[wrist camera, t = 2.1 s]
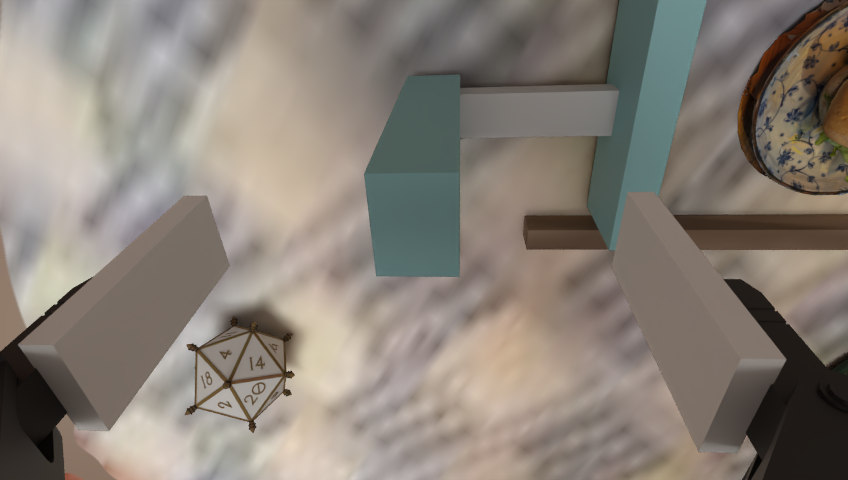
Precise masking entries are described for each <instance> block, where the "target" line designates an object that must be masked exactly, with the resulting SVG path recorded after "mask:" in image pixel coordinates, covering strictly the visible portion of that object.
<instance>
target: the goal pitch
mask: <svg viewBox="0 0 848 480" xmlns="http://www.w3.org/2000/svg"><path fill="white" fill-rule="evenodd" d="M673 216H674V218H675V219H676V220H677V221H678V223H679V224H680V225H681V226H682V228H683V229H684V230H685V232H686V233H687V234H688V235H689V237H690V238H691V239H692V240H693V242H694V243H695V244H696V245H697V247H698V248H699V249H700V250H848V215H673ZM523 235H524V240H525V244H526V249H608V247H607V245H606V243H605V241H604V239H603V237H602V235H601V233H600V231H599V229H598V227H597V225H596V223H595V221H594V219H593V217H592V216H525V220H524V232H523Z"/></svg>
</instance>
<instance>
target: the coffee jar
mask: <svg viewBox="0 0 848 480" xmlns="http://www.w3.org/2000/svg"><path fill="white" fill-rule="evenodd" d="M831 371H835V372H838V373H841V374H845V375H848V359H847V360H845V361H844V362H842V363H840V364H839V365H837V366H836V367H835V368H834V369H832V370H831Z"/></svg>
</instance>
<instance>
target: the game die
mask: <svg viewBox="0 0 848 480" xmlns="http://www.w3.org/2000/svg"><path fill="white" fill-rule="evenodd" d="M230 322H231V325H232V327H231V328H229V329H228V330H226V331H225V332H223V333H221V334H220V335H218V336H217V337H215V338H213V339H212V340H210V341H209V342H207V343H205V344H204V345H202V346H201V347H197V346H196V345H194V343H193V344H187V347H188V350H191V351H195V352H196V364H195V405H194V406H190V408H187V411H186V413H185V415H188V414H191V415H192V413H193V412H195V410H196V409H197V408H198V409H202V410H206V411H209V412H213V413H217V414H221V415H224V416H228V417H232V418H236V419H240V420H243V421H247V422H249V430H251V431H252V432H253V433H254V430H255V428H256V426H255V424H256V423H254V420H255V419H256V418H257V417H258V416H259V415H260V414H261V413H262V412H263V411H264V410H265V409H266V408H267V407H268V406H269V405H270V404H271V403H272V402H273V401H275V400H276V399H277V398H278V397H279V396H280V395H281V394H282V393H283V394H284V395H286V396H289V395H292V394H291V392H290V390H287V389H285V382H286V378H292V377H293V376H295V374H294V373H293V372H292V371H291V372H289V371H288V372H286V353H285V342H286V341H289V339H291V336H292V334H287V335H286V336H284V338H283V339H282V338H279V337H275V336H272V335H269V334H266V333H262V332H259V331H256V329H257V326H258V325H256V323H255V322H253V323H252V324H251V325H250V329H248V328H245V327H241V326H237V319H235V318H234V317H233V318H232V320H231V321H230Z"/></svg>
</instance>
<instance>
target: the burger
mask: <svg viewBox="0 0 848 480" xmlns="http://www.w3.org/2000/svg"><path fill="white" fill-rule="evenodd" d="M750 78H751V80H750V83H748V84H747V85H746V86H748V85H749V87H745V88H746V89H748V91H746V89H745V91H744V92H743V93H744V95H743V94H742V99H743V100H742V99H741V103H740V108H739V112H738V135H739V139H740V143H741V148H742V150H743V152H744V154H745V156H746V157H747V159H748V161H749V162H750V163H751V164H752V166H753V167H754V168H755V169H756V170H757V171H758V172H759V173H761V174H763V175H764V176H768V177H770V178H769V179H772V180H774V181H775V182H776V183H778V184H780V185H782V186H784V187H786V188H788V189H790V190H793V191H796V192H800V193H804V194H810V195H843V194H846V193H848V0H825V1H824V3H823V4H822V6H821V7H819V8H817V9H816V10H815V11H813V12H811V13H809V14H807V15H806V16H805V20H804V21H802V22H801V23H800V24H798V25H797V26H796V27H795V28H794V29H793V30H791V31H789V32H787V33H784V34H782V35H780V36H779V37H778V39H777V40H775V42H774V44H773V45H772V46H771V47H770V48H769V49H768V50H767V51H766V52H765V53H764V55H763V57H762V59H761V62H760V66H759V70H758V72H757V73H756V74H755V75H754V76H753V77H750ZM750 78H749V79H750ZM748 82H749V80H748ZM745 93H747V95H745ZM742 117H743V118H742ZM762 171H763V172H762ZM765 174H767V175H765Z"/></svg>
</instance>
